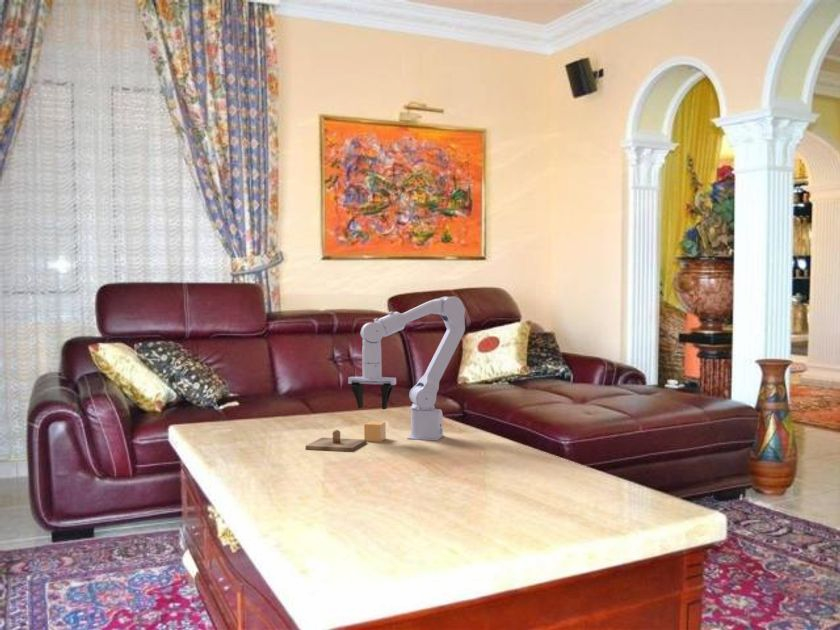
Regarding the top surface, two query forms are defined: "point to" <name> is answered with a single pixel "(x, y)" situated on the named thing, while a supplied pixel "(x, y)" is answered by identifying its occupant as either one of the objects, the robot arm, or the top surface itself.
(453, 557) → the top surface
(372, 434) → the orange cube
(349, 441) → the brown rectangular slab
